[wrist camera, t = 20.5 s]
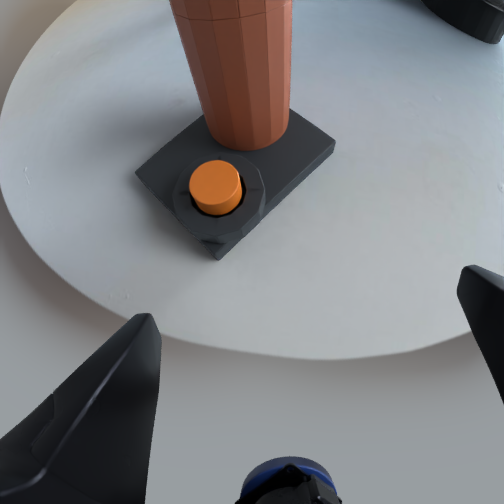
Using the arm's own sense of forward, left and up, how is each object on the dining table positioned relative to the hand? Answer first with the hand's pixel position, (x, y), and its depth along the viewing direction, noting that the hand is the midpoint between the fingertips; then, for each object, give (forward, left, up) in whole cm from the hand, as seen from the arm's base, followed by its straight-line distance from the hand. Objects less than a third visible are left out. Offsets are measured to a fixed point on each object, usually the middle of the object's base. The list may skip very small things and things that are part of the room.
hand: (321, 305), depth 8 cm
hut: (+60, +10, -14) cm, 62 cm away
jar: (+9, +13, -12) cm, 20 cm away
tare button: (+3, +9, -10) cm, 14 cm away
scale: (+6, +12, -14) cm, 19 cm away
